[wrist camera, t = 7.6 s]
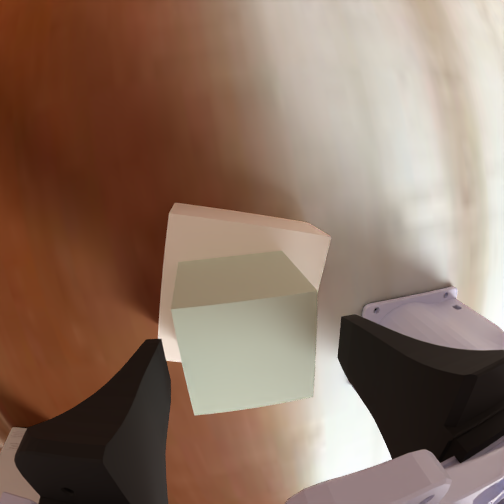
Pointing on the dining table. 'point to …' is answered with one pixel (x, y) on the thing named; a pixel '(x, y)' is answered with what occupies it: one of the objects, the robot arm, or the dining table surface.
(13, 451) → the supplement box
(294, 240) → the cream block
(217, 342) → the sage block
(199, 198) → the dining table surface
